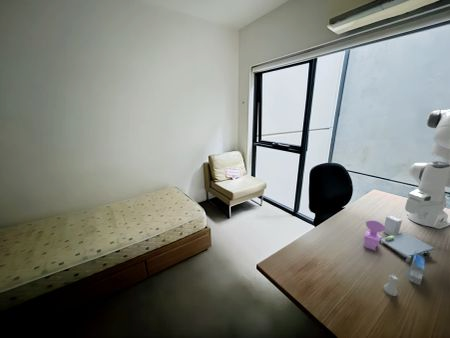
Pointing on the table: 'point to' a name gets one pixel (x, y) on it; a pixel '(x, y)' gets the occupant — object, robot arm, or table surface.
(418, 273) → the label tape box
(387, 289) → the rook chess piece
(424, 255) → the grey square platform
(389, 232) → the skincare box
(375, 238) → the toy chair
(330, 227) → the table surface
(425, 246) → the levelling deck
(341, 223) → the table surface
